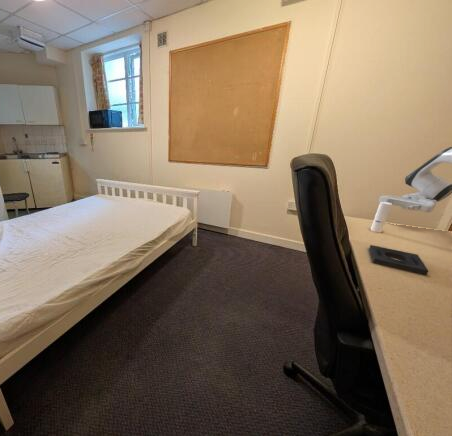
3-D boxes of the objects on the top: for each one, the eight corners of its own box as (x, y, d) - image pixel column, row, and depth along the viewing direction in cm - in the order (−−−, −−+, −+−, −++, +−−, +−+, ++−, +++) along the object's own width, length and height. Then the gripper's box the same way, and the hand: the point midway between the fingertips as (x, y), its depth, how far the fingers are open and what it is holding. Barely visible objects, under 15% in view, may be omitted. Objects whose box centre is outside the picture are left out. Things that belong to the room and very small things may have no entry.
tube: (378, 229, 115) (388, 202, 110) (383, 232, 111) (394, 204, 106) (368, 228, 116) (378, 201, 111) (373, 231, 112) (383, 203, 107)
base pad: (415, 258, 87) (417, 254, 87) (426, 275, 77) (428, 270, 76) (368, 248, 95) (370, 244, 95) (372, 262, 85) (374, 258, 84)
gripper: (389, 191, 126) (375, 194, 121) (441, 201, 108) (427, 204, 103) (385, 202, 128) (371, 205, 123) (436, 213, 111) (422, 216, 106)
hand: (397, 204), depth 113 cm, fingers open, 8 cm apart
